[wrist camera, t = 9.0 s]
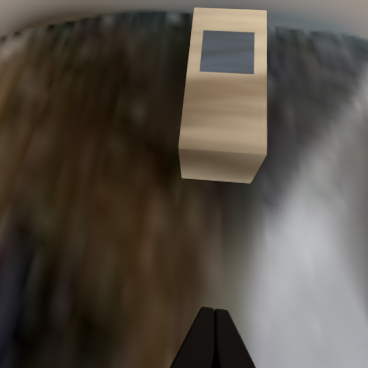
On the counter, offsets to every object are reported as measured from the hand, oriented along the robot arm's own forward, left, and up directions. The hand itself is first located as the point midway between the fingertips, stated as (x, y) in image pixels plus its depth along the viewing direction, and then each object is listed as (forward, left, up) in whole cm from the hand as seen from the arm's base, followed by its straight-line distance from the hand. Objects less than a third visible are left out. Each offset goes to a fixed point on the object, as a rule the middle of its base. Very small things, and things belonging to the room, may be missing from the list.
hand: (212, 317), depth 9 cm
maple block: (+7, -4, -7) cm, 11 cm away
